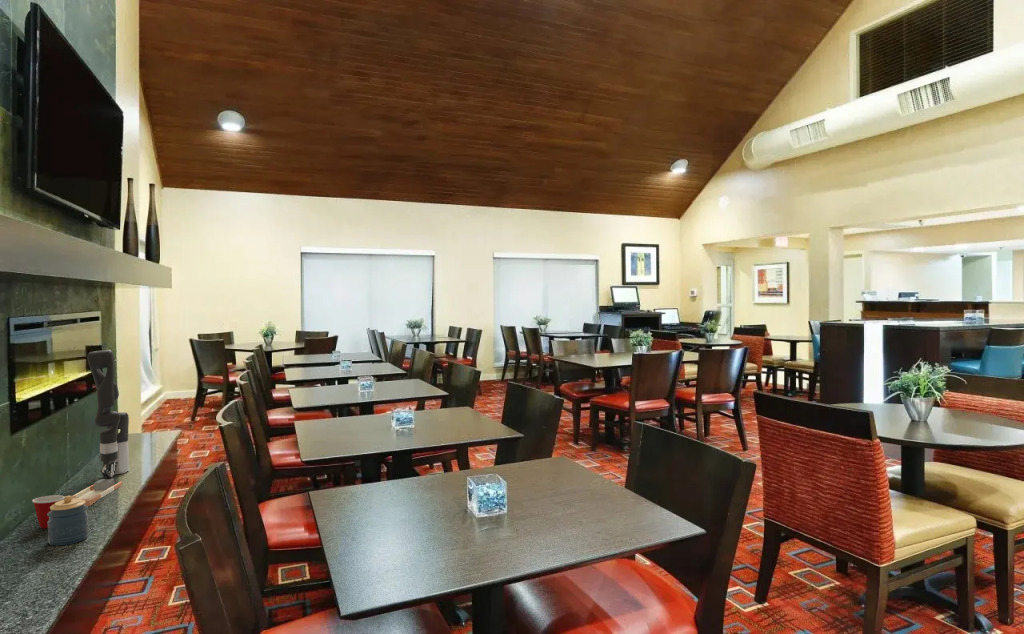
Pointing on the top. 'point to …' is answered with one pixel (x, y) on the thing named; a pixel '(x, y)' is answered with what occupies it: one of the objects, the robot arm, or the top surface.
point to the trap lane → (94, 493)
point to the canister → (67, 521)
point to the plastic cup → (45, 508)
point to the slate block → (103, 484)
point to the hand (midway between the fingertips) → (110, 483)
